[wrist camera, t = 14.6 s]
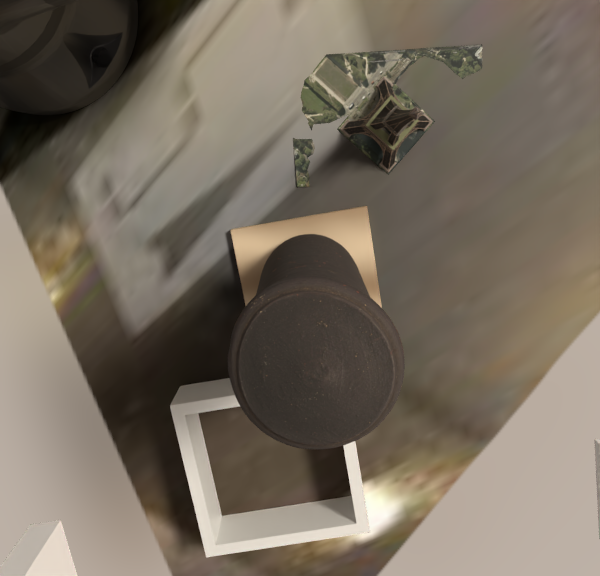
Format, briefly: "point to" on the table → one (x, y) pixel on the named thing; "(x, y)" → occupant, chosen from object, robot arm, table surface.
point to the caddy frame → (262, 523)
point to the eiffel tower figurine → (373, 101)
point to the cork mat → (336, 225)
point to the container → (314, 349)
